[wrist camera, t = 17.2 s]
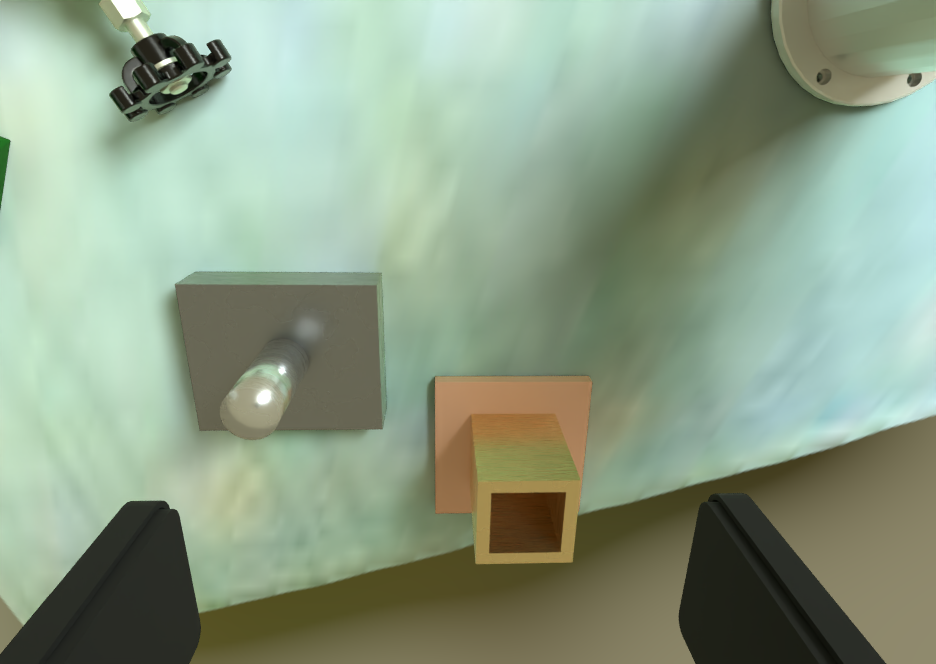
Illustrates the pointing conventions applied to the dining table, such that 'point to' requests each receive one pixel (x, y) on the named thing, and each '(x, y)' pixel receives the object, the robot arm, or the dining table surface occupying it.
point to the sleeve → (522, 489)
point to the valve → (160, 64)
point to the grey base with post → (284, 350)
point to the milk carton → (3, 162)
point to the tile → (500, 397)
